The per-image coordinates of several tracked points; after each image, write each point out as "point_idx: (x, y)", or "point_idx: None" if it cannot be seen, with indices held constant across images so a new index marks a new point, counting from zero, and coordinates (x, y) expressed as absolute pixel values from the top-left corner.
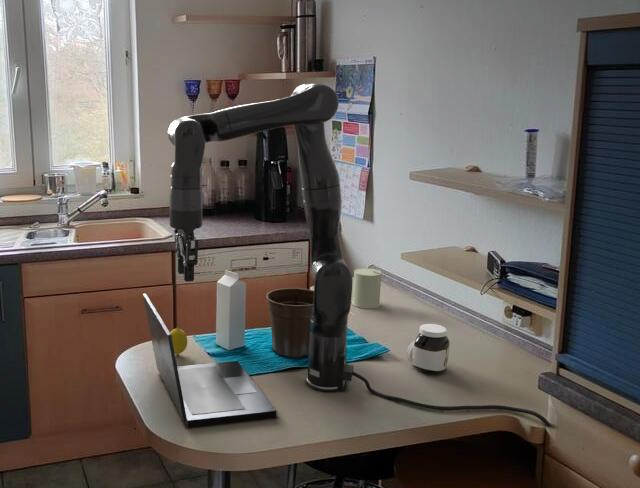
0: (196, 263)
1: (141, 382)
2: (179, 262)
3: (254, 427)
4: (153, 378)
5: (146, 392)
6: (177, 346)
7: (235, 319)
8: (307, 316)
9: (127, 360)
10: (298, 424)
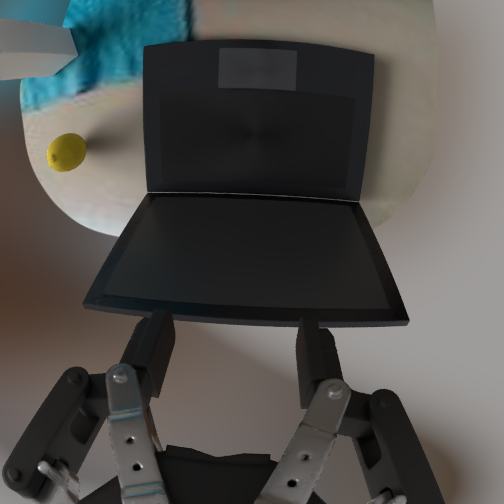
0: (395, 399)
1: None
2: (162, 379)
3: (387, 102)
4: None
5: None
6: (83, 153)
7: (40, 40)
8: None
9: (95, 228)
10: (397, 39)
